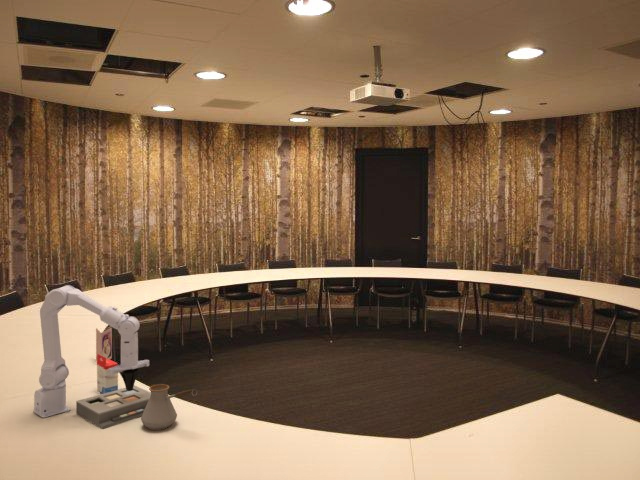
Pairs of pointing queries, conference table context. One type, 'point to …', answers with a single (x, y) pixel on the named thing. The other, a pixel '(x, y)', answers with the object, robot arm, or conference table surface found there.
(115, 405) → the key cream
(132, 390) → the key slate
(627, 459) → the conference table surface
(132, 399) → the key terracotta
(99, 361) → the ink box
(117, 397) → the key sand
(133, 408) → the grey sorting tray
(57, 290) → the robot arm
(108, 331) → the open printed carton
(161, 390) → the coffee pot
